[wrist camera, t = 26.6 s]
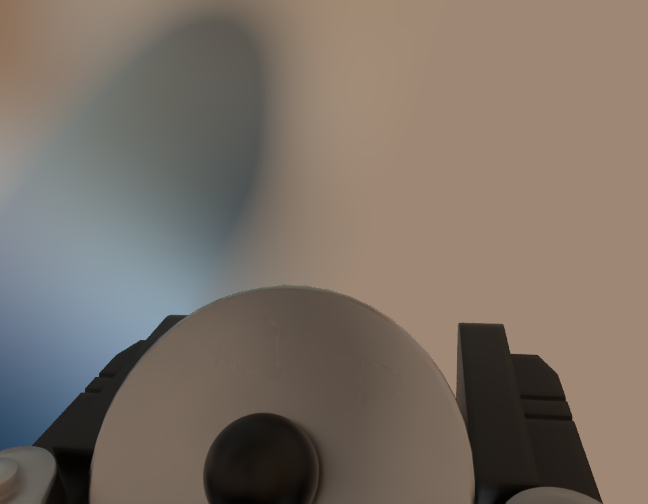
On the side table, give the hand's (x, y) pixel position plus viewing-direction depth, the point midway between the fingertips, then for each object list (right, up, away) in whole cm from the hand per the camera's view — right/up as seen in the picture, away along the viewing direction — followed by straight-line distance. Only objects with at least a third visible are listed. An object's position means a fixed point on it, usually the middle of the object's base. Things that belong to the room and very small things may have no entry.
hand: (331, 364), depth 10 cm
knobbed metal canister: (+1, -3, +3) cm, 5 cm away
